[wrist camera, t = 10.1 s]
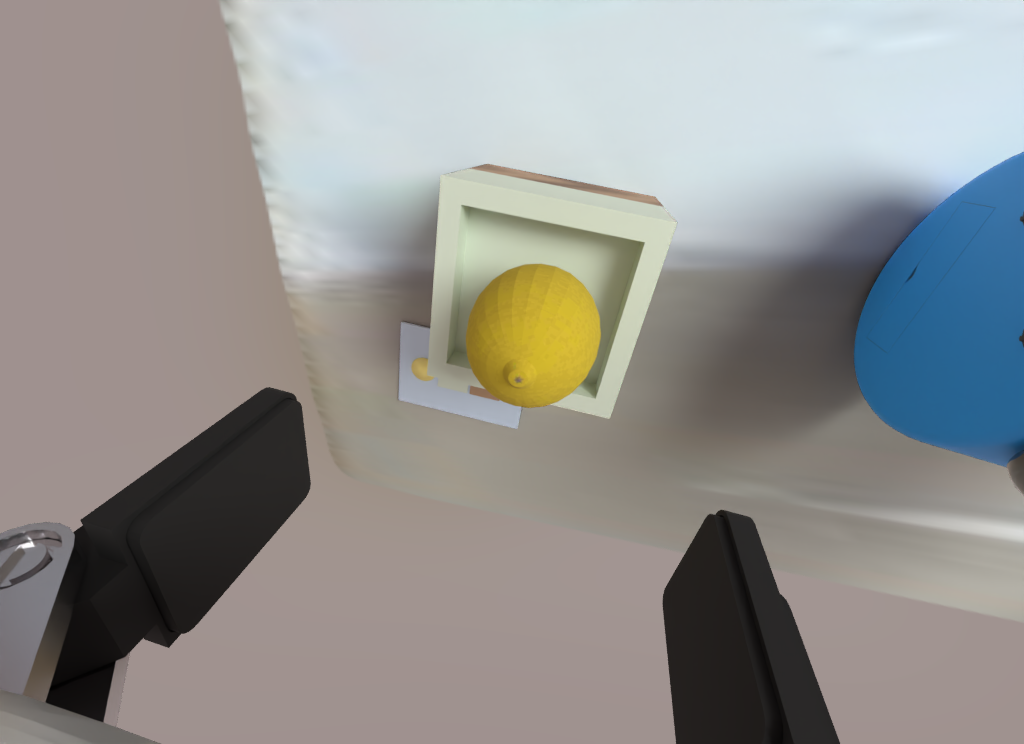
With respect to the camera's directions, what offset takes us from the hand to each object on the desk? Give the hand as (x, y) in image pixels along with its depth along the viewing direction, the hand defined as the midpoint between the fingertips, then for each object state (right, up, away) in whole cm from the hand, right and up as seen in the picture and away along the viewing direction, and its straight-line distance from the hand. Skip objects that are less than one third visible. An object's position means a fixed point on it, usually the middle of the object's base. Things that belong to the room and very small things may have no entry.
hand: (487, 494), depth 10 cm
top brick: (+2, +8, +14) cm, 16 cm away
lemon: (+2, +6, +12) cm, 14 cm away
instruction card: (-3, +2, +23) cm, 24 cm away
